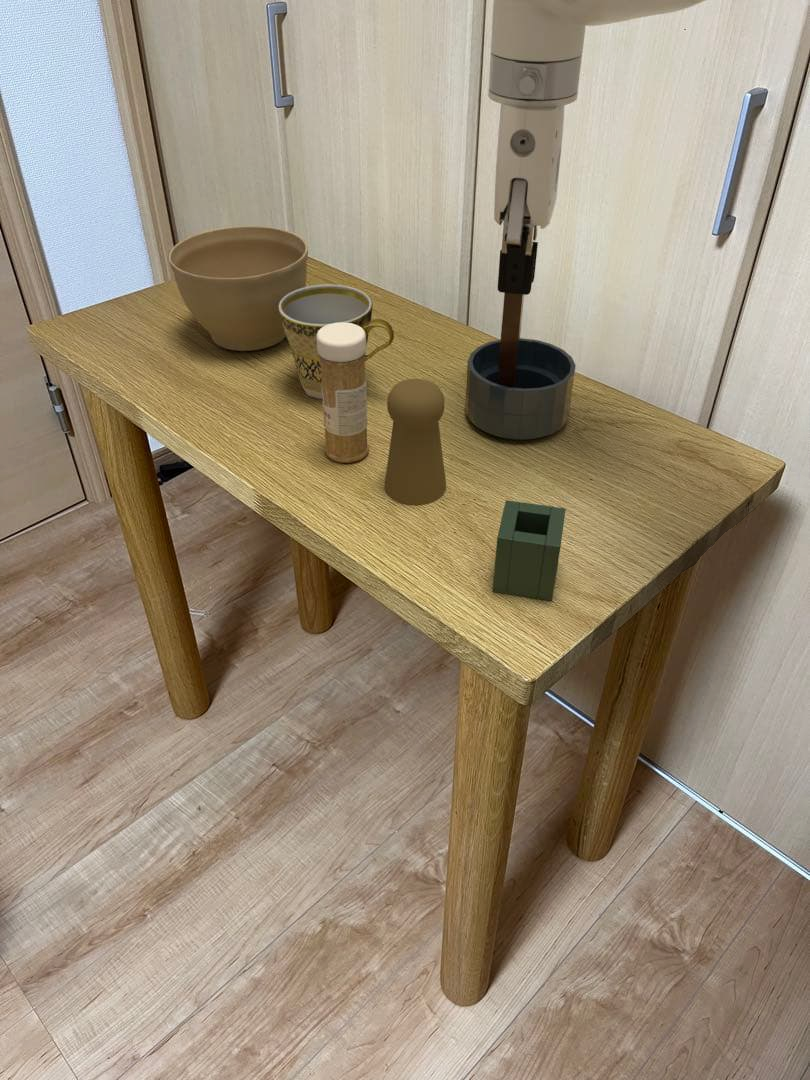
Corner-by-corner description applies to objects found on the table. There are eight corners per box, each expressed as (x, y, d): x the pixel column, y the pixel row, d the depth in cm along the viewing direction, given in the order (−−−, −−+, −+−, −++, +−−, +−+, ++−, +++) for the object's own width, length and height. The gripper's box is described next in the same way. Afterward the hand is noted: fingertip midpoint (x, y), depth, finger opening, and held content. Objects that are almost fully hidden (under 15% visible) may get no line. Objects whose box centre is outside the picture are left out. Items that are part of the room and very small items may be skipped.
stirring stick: (514, 393, 92) (531, 227, 80) (512, 401, 90) (528, 234, 79) (497, 391, 92) (512, 225, 80) (495, 399, 91) (509, 232, 79)
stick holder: (557, 561, 74) (565, 508, 70) (551, 601, 70) (560, 547, 66) (500, 553, 75) (505, 499, 71) (492, 591, 71) (497, 537, 67)
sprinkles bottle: (321, 443, 88) (312, 323, 79) (364, 436, 89) (360, 317, 80) (329, 468, 85) (320, 346, 76) (374, 461, 85) (370, 340, 77)
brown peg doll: (374, 476, 84) (371, 378, 76) (429, 461, 85) (431, 364, 78) (399, 511, 79) (399, 411, 72) (457, 494, 81) (462, 395, 74)
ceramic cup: (270, 396, 95) (260, 313, 88) (314, 357, 102) (308, 277, 95) (374, 423, 91) (371, 338, 84) (412, 380, 98) (413, 298, 91)
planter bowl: (324, 309, 112) (318, 226, 105) (300, 369, 99) (291, 281, 92) (205, 303, 113) (192, 221, 106) (167, 362, 101) (148, 274, 94)
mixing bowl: (571, 396, 95) (579, 344, 91) (562, 451, 87) (570, 396, 83) (474, 385, 97) (477, 333, 93) (457, 438, 89) (459, 383, 84)
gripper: (571, 104, 65) (545, 327, 77) (586, 59, 76) (561, 258, 88) (473, 98, 66) (463, 318, 78) (503, 55, 78) (490, 252, 90)
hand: (515, 285), depth 83 cm, fingers closed on stirring stick, 1 cm apart
